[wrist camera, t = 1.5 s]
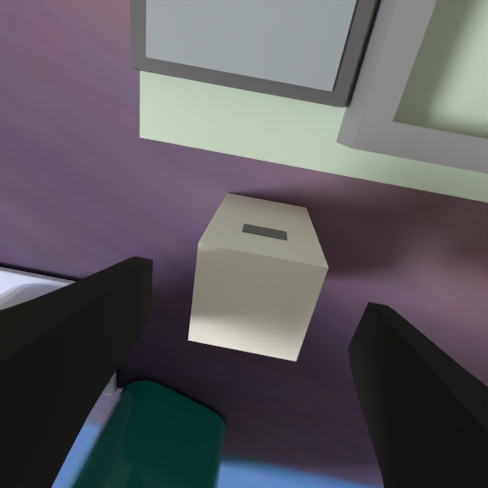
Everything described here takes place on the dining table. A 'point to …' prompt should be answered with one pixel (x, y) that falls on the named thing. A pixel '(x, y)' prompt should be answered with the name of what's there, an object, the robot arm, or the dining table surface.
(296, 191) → the dining table surface
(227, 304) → the block
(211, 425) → the green bottle
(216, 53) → the outlet plate
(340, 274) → the dining table surface
